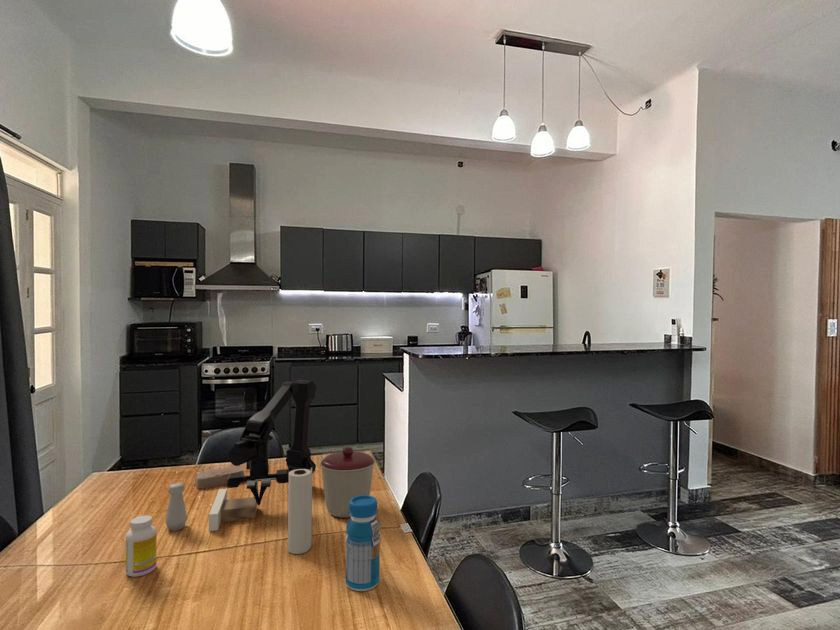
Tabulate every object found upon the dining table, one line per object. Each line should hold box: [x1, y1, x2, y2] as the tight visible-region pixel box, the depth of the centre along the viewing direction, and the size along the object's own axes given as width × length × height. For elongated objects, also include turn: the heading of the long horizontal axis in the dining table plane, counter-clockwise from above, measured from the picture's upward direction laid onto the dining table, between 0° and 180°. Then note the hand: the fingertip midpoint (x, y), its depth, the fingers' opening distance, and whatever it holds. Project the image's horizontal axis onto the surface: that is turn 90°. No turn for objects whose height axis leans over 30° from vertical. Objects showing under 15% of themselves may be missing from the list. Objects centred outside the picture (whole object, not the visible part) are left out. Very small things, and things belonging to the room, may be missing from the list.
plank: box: [208, 488, 228, 532], centre depth 147 cm, size 2×20×5 cm, turn 16°
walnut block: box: [221, 496, 258, 523], centre depth 148 cm, size 10×8×4 cm
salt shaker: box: [164, 482, 188, 532], centre depth 139 cm, size 6×6×13 cm
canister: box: [319, 446, 376, 519], centre depth 152 cm, size 18×18×21 cm
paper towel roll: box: [287, 468, 313, 555], centre depth 128 cm, size 7×6×21 cm
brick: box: [194, 465, 245, 490], centre depth 177 cm, size 17×8×5 cm, turn 121°
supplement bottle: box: [125, 515, 157, 578], centre depth 116 cm, size 7×7×13 cm
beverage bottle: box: [344, 495, 382, 592], centre depth 112 cm, size 8×8×20 cm
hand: (258, 504), depth 150 cm, fingers closed
